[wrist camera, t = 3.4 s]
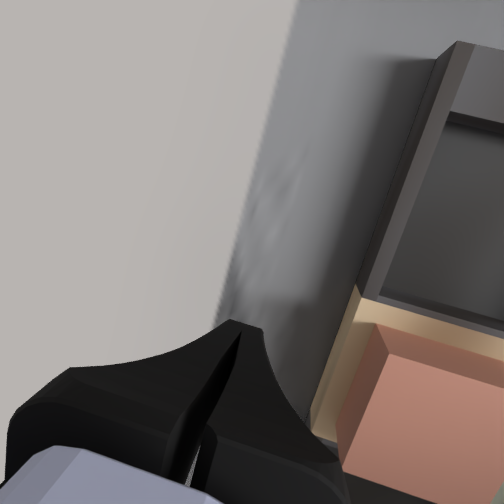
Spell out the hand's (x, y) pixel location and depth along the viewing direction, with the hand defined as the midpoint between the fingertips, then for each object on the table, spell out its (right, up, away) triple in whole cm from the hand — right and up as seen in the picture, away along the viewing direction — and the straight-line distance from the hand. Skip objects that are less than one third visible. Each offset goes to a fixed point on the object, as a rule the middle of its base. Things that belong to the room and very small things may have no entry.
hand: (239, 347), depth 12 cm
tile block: (+6, -2, 0) cm, 7 cm away
